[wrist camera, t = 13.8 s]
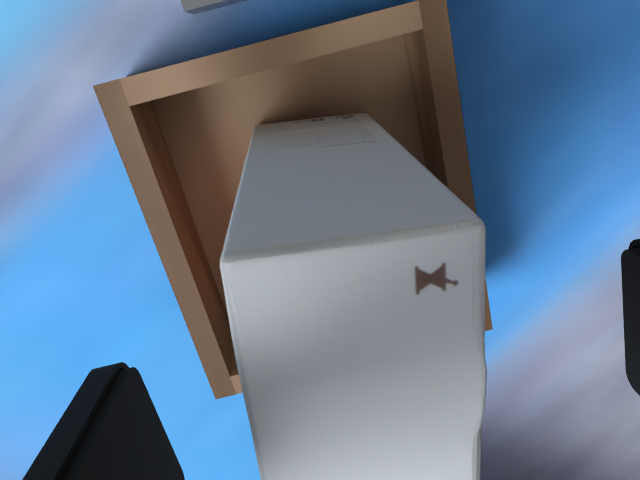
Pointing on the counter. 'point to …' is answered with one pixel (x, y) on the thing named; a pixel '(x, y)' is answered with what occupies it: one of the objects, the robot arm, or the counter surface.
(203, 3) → the slot holder
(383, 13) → the tray
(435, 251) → the skincare box
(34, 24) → the counter surface
